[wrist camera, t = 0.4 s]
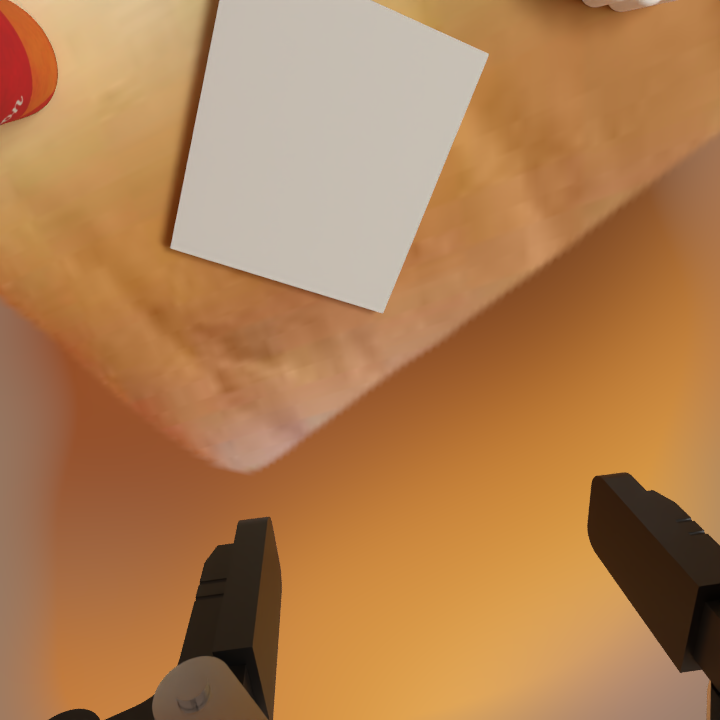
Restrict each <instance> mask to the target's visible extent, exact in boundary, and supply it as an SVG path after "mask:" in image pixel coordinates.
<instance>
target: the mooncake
mask: <svg viewBox="0 0 720 720" xmlns="http://www.w3.org/2000/svg"><path fill="white" fill-rule="evenodd" d="M582 1H583V2H584V3H585V4H586V5H588V6H590V7H600V6H604V5H609V6H610V7H611V8H612V9H613V10H615V11H618V12H624V11H629V10H634V9H639V8H643V7H648V6H652V5H657V4H661V3H666V2H671V1H675V0H582Z"/></svg>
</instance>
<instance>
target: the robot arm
mask: <svg viewBox="0 0 720 720" xmlns="http://www.w3.org/2000/svg"><path fill="white" fill-rule="evenodd" d="M587 526H588V536H589V539H590V542H591V545H592V547H593V549H594V551H595V553H596V554H597V555H598V557H599V558H600V560H601V561H602V563H603V564H604V566H605V567H606V568H607V570H608V571H609V573H610V574H611V575H612V577H613V578H614V580H615V581H616V583H617V584H618V585H619V587H620V588H621V589H622V591H623V592H624V594H625V595H626V597H627V598H628V600H629V601H630V602H631V604H632V605H633V607H634V608H635V609H636V611H637V612H638V614H639V615H640V616H641V618H642V619H643V621H644V622H645V624H646V625H647V626H648V628H649V629H650V631H651V632H652V633H653V635H654V636H655V638H656V639H657V641H658V642H659V643H660V645H661V646H662V648H663V649H664V650H665V652H666V653H667V655H668V656H669V657H670V659H671V660H672V662H673V663H674V665H675V666H676V667H677V669H678V670H679V672H680V673H682V672H688V671H695V670H703V671H704V673H705V674H706V675H707V677H708V678H709V683H708V688H707V708H706V720H720V545H719V544H718V543H717V542H715V541H714V540H713V539H712V538H711V537H710V536H709V535H708V534H705V533H704V530H703V529H702V528H701V527H700V526H699V525H698V524H697V523H696V522H695V521H692V520H691V517H690V516H688V515H687V513H686V512H684V511H683V510H682V509H681V508H680V507H679V506H678V505H677V504H676V503H675V502H673V501H671V500H670V499H668V498H666V497H664V496H663V495H661V494H659V493H657V492H655V491H653V490H651V491H646V490H645V489H644V488H643V487H642V486H641V485H640V484H639V483H638V482H637V481H636V480H635V479H634V478H633V477H632V476H631V475H630V474H628V473H616V474H609V475H601V476H595V477H594V478H593V480H592V485H591V495H590V506H589V515H588V525H587ZM281 593H282V582H281V569H280V563H279V558H278V552H277V547H276V542H275V536H274V531H273V526H272V521H271V518H270V517H263V518H255V519H247V520H240V521H239V522H238V525H237V530H236V535H235V540H234V543H233V544H225V545H218V546H217V547H216V548H215V550H214V551H213V553H212V554H211V555H210V557H209V558H208V559H207V560H206V562H205V563H204V567H203V571H202V575H201V579H200V585H199V587H198V590H197V594H196V601H195V602H194V606H193V610H192V614H191V617H190V621H189V625H188V629H187V633H186V636H185V640H184V644H183V648H182V652H181V656H180V659H179V662H178V665H177V666H176V667H175V668H174V669H173V670H172V671H170V672H169V673H168V674H167V675H166V676H165V677H164V679H163V680H162V681H161V683H160V684H159V686H158V688H157V690H156V692H155V694H154V695H153V696H152V697H151V698H149V699H148V700H146V701H144V702H143V703H141V704H139V705H137V706H135V707H132V708H130V709H128V710H126V711H124V712H121V713H119V714H117V715H115V716H112V717H110V718H108V719H106V720H273V709H274V695H275V680H276V666H277V652H278V637H279V623H280V608H281ZM49 720H100V719H99V717H98V716H97V715H96V714H95V713H94V712H92V711H90V710H86V709H74V710H69V711H66V712H63V713H60V714H58V715H56V716H54V717H52V718H51V719H49Z"/></svg>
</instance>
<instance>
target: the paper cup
mask: <svg viewBox="0 0 720 720" xmlns="http://www.w3.org/2000/svg"><path fill="white" fill-rule="evenodd" d="M57 79H58V69H57V62H56V57H55V54H54V51H53V48H52V46H51V44H50V42H49V40H48V38H47V36H46V34H45V33H44V31H43V30H42V28H41V27H40V26H39V25H38V23H37V22H36V21H35V20H34V19H33V18H32V17H31V16H30V15H29V14H28V13H27V12H25V11H24V10H23V9H21V8H20V7H19V6H17V5H16V4H14V3H12V2H11V1H9V0H0V125H2V124H5V123H8V122H12V121H15V120H18V119H21V118H24V117H27V116H30V115H32V114H34V113H36V112H38V111H39V110H41V109H42V108H43V107H45V106H46V105H47V104H48V102H49V101H50V100H51V98H52V96H53V94H54V92H55V89H56V85H57Z"/></svg>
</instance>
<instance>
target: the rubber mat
mask: <svg viewBox="0 0 720 720" xmlns="http://www.w3.org/2000/svg"><path fill="white" fill-rule="evenodd" d="M488 56H489V54H488V53H485V52H483V51H481V50H479V49H477V48H474V47H472V46H470V45H468V44H466V43H463V42H461V41H459V40H457V39H455V38H453V37H450V36H448V35H446V34H444V33H442V32H439V31H437V30H435V29H433V28H431V27H428V26H426V25H424V24H422V23H420V22H417V21H415V20H413V19H411V18H409V17H406V16H404V15H402V14H400V13H398V12H395V11H393V10H391V9H389V8H387V7H384V6H382V5H380V4H378V3H376V2H373V1H371V0H219V5H218V10H217V15H216V20H215V25H214V31H213V36H212V41H211V46H210V51H209V56H208V61H207V66H206V71H205V76H204V81H203V86H202V91H201V96H200V101H199V106H198V111H197V116H196V121H195V126H194V131H193V136H192V141H191V146H190V151H189V156H188V161H187V166H186V171H185V177H184V182H183V187H182V192H181V197H180V202H179V207H178V212H177V217H176V222H175V227H174V232H173V237H172V242H171V247H170V248H171V249H174V250H177V251H180V252H184V253H187V254H190V255H194V256H197V257H200V258H203V259H207V260H210V261H213V262H216V263H220V264H223V265H226V266H229V267H233V268H236V269H239V270H243V271H246V272H249V273H252V274H256V275H259V276H262V277H265V278H269V279H272V280H275V281H278V282H282V283H285V284H288V285H292V286H295V287H298V288H301V289H305V290H308V291H311V292H314V293H318V294H321V295H324V296H327V297H331V298H334V299H337V300H341V301H344V302H347V303H350V304H354V305H357V306H360V307H363V308H367V309H370V310H373V311H376V312H380V313H383V312H384V310H385V307H386V305H387V302H388V300H389V297H390V295H391V293H392V290H393V288H394V285H395V283H396V280H397V278H398V275H399V273H400V271H401V268H402V266H403V263H404V261H405V258H406V256H407V253H408V251H409V249H410V246H411V244H412V241H413V239H414V236H415V234H416V231H417V229H418V227H419V224H420V222H421V219H422V217H423V214H424V212H425V210H426V207H427V205H428V202H429V200H430V197H431V195H432V192H433V190H434V188H435V185H436V183H437V180H438V178H439V175H440V173H441V170H442V168H443V166H444V163H445V161H446V158H447V156H448V153H449V151H450V148H451V146H452V144H453V141H454V139H455V136H456V134H457V131H458V129H459V126H460V124H461V122H462V119H463V117H464V114H465V112H466V109H467V107H468V104H469V102H470V100H471V97H472V95H473V92H474V90H475V87H476V85H477V83H478V80H479V78H480V75H481V73H482V70H483V68H484V65H485V63H486V61H487V58H488Z"/></svg>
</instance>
